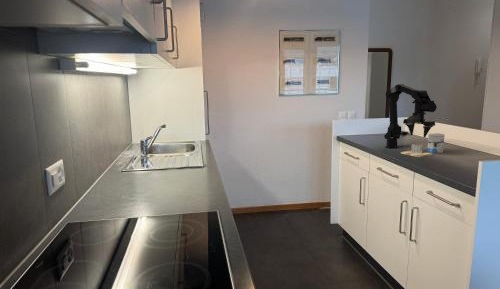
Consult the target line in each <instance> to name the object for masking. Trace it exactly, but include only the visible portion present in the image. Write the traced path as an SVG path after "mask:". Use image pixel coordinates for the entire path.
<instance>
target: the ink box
mask: <svg viewBox="0 0 500 289" xmlns="http://www.w3.org/2000/svg"><path fill="white" fill-rule="evenodd" d="M427 136H428V137H427V138H428V139H427V148H426V152H428V153H433V154H440V153H444V146H445V145H444V144H445V134H444V133H439V132H438V133H437V132H436V133H435V132H434V133H429V134H427Z"/></svg>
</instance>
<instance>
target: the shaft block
mask: <svg viewBox="0 0 500 289" xmlns="http://www.w3.org/2000/svg"><path fill="white" fill-rule="evenodd" d="M414 144H415V145H419V144H420V143H414ZM400 154H402V155H405V156H412V157H416V158H424V157H430V156H434V153H430V152H427V151H422V153H421V154H415V153H411V150H405V151H400Z"/></svg>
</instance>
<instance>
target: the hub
mask: <svg viewBox="0 0 500 289" xmlns="http://www.w3.org/2000/svg"><path fill="white" fill-rule="evenodd" d="M415 144H416V143H412V144H411V153H415V154H421V153H422V152H423V144H421V143H418V144H419V145H415Z"/></svg>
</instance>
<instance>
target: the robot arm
mask: <svg viewBox="0 0 500 289" xmlns="http://www.w3.org/2000/svg"><path fill="white" fill-rule="evenodd" d="M403 93H404V94H406V95H409V96H411V98H412V99H413V100H412V102H411V103H412V104H414V111H413V112H412V115H410V116H409V117H407V118H404V119H403V121H402V122H403V125H405V126H406V127H407V128H408V131H409V134H410V136H413V134H414V131H415V126H416V125H417V124H418V125H423V126H422V128H423V138H426V137H427V136H428V133H429V132H430V130H431V128H434V127H436V121H435V120H426V119H425V115H427V113H434V112H436V111H437V106H438V105H437V103H435V101H434V100H431V98H430V95H429V94H428V91H427V90H425V89H415V88H413V87H411V86H409V85H405V84H403V83H399V84H395V85H394V86H393V87H391V88H389V89H387V90H386V92H385V100H386V101H387V102H388V112H389V113H388V114H389V125H388V127H387V131H386V132H385V134H384V139H385V140H386V145H385V146H384V148H387V149H392V150H393V149H399V146H398V140H399V139H400V138H401V136H402V133H403V131H402V126H401V125H399V123H398V122H399V121H398V119H399V118H398V101H399V99H400V95H401V94H403Z"/></svg>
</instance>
